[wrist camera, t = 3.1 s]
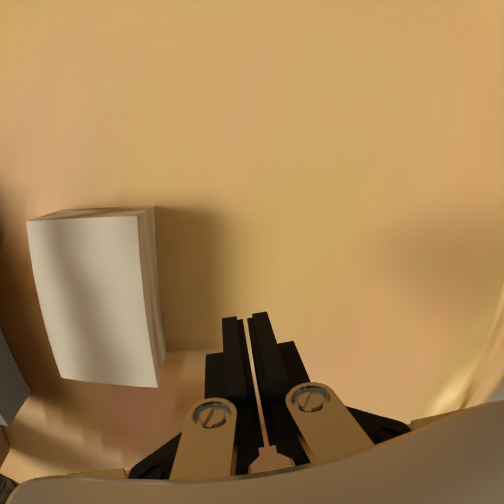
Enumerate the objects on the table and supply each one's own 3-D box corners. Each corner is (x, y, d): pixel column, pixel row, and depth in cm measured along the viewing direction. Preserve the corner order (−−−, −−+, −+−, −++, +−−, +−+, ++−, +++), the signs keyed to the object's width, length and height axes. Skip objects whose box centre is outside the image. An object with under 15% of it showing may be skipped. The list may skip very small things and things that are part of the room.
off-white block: (154, 205, 21) (137, 216, 17) (166, 350, 24) (157, 387, 20) (60, 210, 21) (26, 221, 16) (82, 345, 24) (61, 377, 19)
